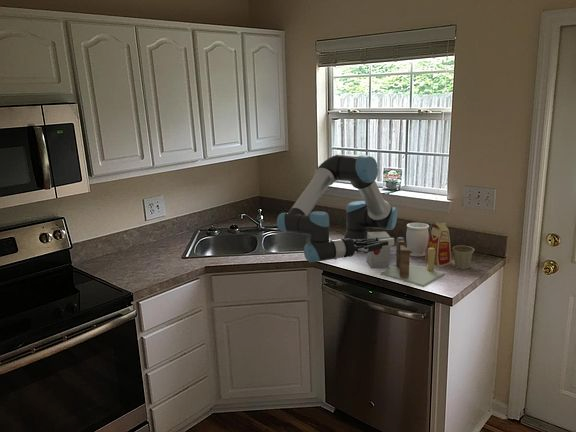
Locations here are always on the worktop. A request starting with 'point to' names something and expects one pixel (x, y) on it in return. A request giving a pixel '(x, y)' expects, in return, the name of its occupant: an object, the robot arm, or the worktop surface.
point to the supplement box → (379, 252)
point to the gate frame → (415, 270)
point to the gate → (403, 259)
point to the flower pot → (462, 256)
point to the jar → (417, 238)
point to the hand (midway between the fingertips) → (393, 241)
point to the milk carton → (440, 245)
